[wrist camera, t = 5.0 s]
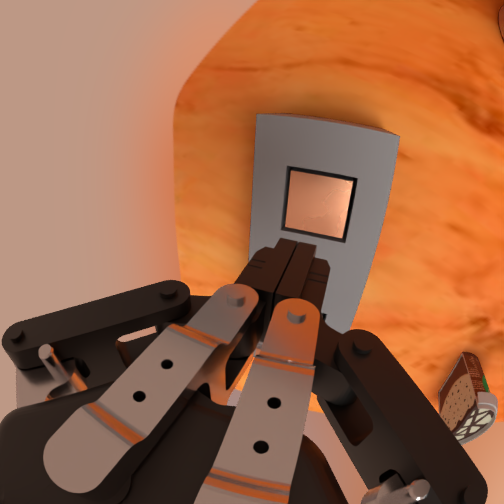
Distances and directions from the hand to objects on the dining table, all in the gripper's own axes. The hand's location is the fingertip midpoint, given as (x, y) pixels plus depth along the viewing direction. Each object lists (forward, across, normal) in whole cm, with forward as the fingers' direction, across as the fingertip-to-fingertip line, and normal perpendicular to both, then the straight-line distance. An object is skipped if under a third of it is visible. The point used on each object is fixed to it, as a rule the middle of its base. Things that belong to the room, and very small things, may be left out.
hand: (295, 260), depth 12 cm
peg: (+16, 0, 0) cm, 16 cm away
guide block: (+16, 0, +6) cm, 17 cm away
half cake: (+16, -27, +22) cm, 38 cm away
